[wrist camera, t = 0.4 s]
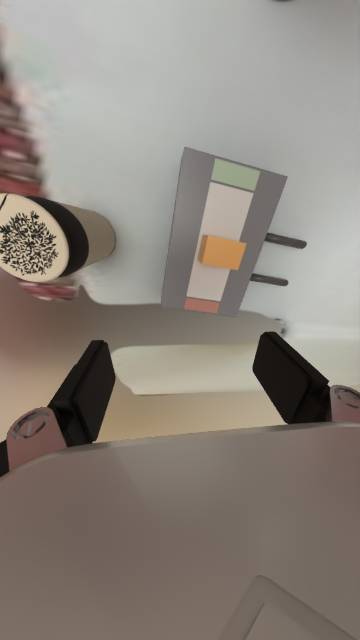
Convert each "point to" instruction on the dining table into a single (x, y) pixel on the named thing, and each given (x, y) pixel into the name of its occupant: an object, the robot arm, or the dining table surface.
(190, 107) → the dining table surface
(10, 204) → the travel mug
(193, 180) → the box
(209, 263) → the knob
